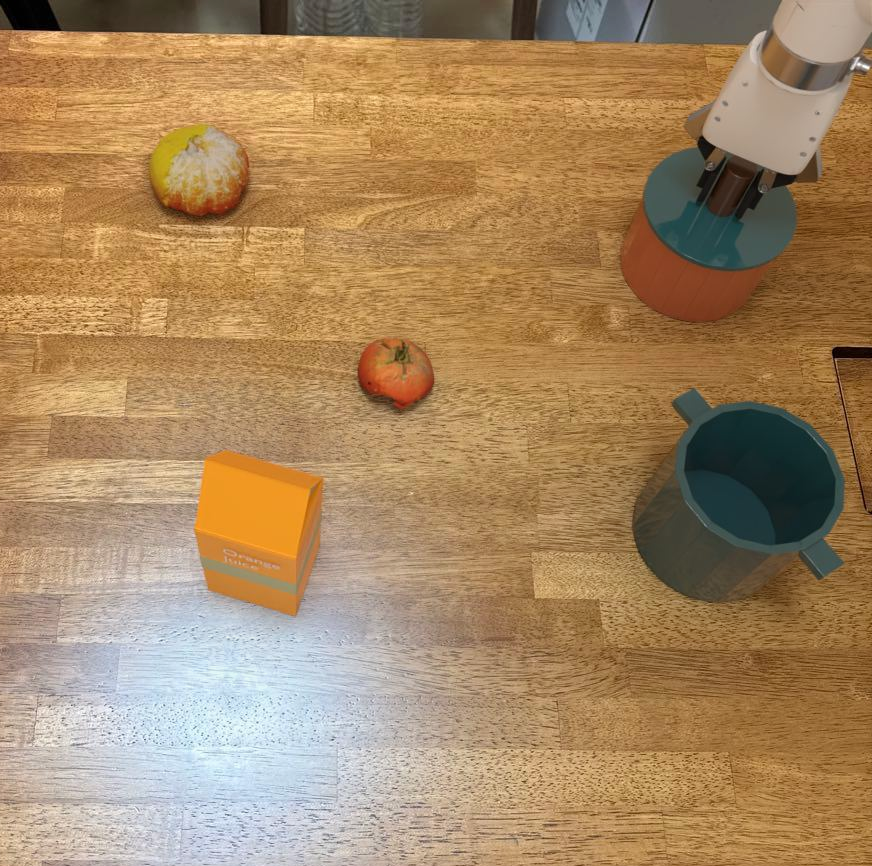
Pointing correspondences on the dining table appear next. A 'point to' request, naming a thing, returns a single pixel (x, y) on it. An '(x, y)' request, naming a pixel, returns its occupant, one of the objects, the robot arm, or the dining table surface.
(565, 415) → the dining table surface
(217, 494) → the orange juice
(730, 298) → the canister
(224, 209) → the fruit
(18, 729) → the dining table surface
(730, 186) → the lid
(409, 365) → the tomato
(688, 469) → the pot
